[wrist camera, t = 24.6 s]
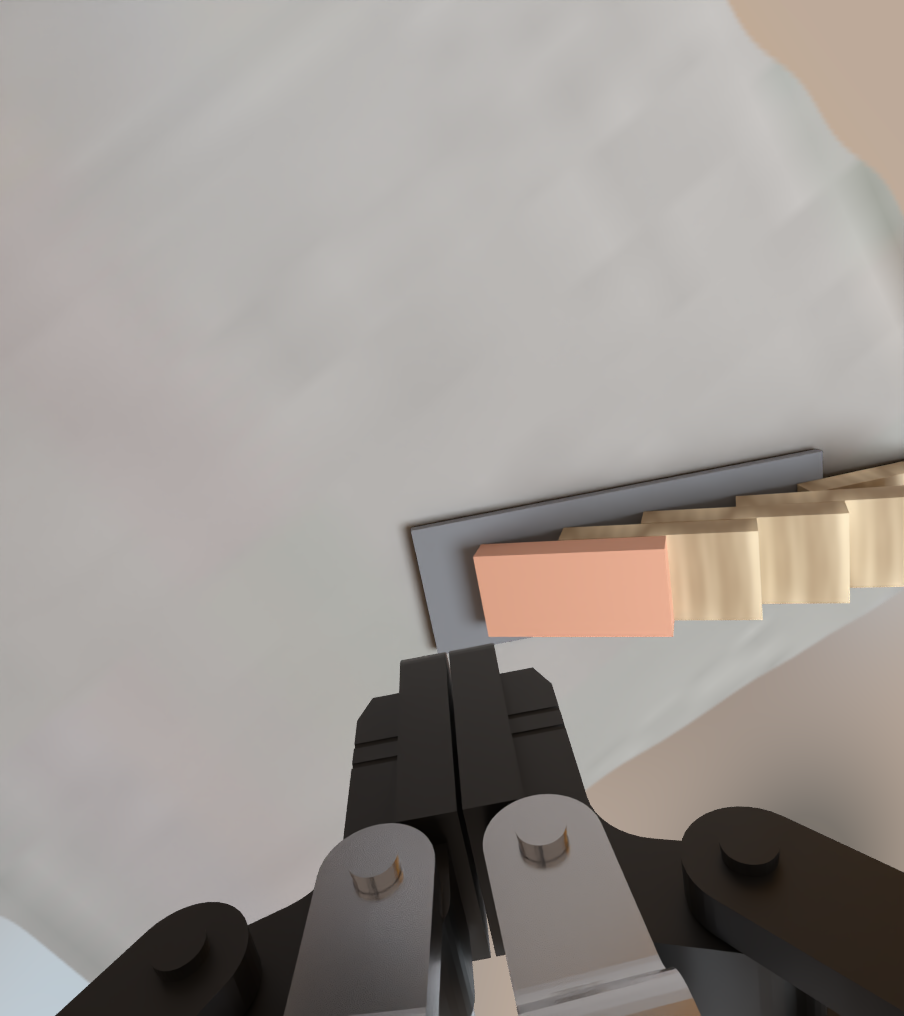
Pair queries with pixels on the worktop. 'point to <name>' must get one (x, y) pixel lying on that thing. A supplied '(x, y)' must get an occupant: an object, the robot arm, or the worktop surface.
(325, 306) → the worktop surface
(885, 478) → the maple domino
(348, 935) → the robot arm
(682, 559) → the maple domino
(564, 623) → the terracotta domino
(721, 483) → the mat
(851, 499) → the maple domino
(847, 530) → the maple domino
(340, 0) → the worktop surface
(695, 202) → the worktop surface
